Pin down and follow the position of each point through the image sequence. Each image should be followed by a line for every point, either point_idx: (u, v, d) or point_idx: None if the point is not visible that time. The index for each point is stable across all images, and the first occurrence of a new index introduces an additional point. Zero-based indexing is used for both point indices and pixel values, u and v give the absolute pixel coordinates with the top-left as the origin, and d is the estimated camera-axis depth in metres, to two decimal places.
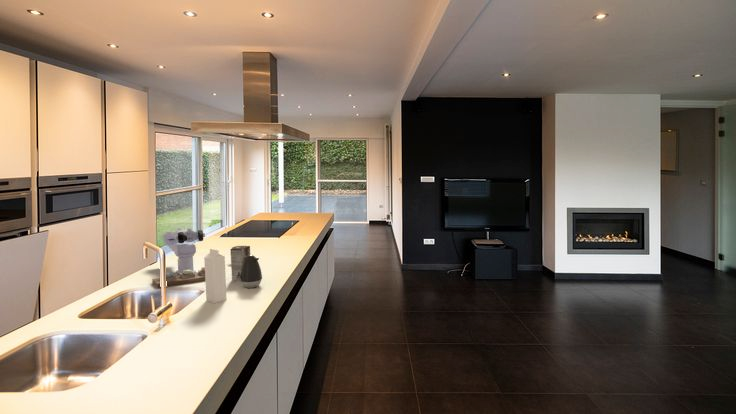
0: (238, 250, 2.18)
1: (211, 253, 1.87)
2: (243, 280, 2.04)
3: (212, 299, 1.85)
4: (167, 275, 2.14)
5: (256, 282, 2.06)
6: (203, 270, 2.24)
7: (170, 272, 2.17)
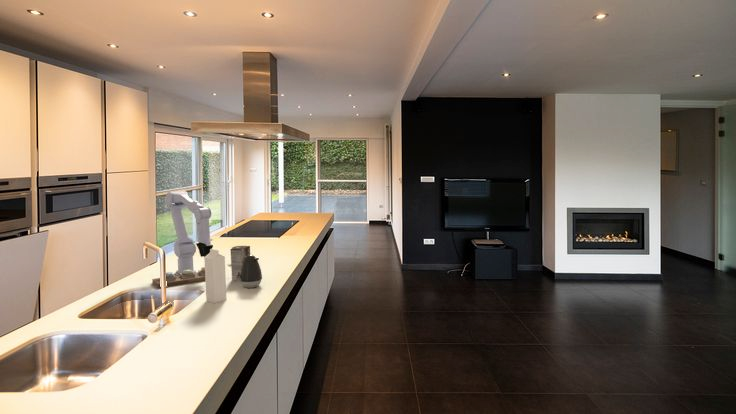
0: (238, 250, 2.18)
1: (211, 253, 1.87)
2: (243, 280, 2.04)
3: (212, 299, 1.85)
4: (167, 275, 2.14)
5: (256, 282, 2.06)
6: (203, 270, 2.24)
7: (170, 272, 2.17)
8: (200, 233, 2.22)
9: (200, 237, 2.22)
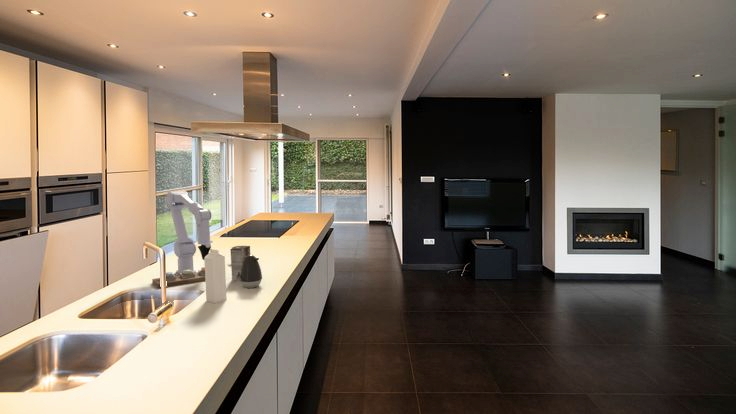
0: (238, 250, 2.18)
1: (211, 253, 1.87)
2: (243, 280, 2.04)
3: (212, 299, 1.85)
4: (167, 275, 2.14)
5: (256, 282, 2.06)
6: (203, 270, 2.24)
7: (170, 272, 2.17)
8: (200, 235, 2.22)
9: (200, 239, 2.22)
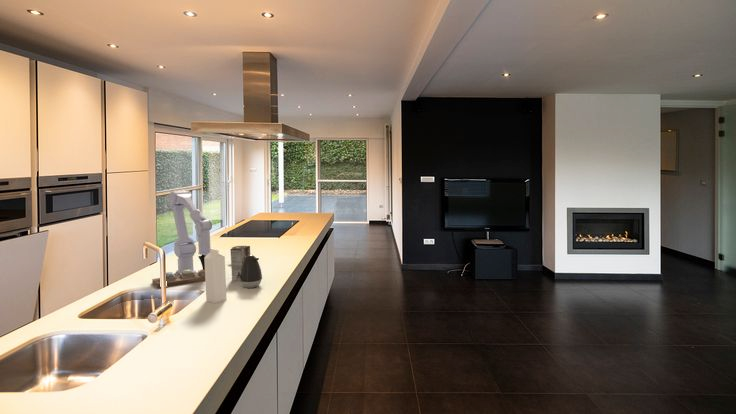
0: (238, 250, 2.18)
1: (211, 253, 1.87)
2: (243, 280, 2.04)
3: (212, 299, 1.85)
4: (167, 275, 2.14)
5: (256, 282, 2.06)
6: None
7: (170, 272, 2.17)
8: (201, 245, 2.22)
9: (201, 249, 2.22)
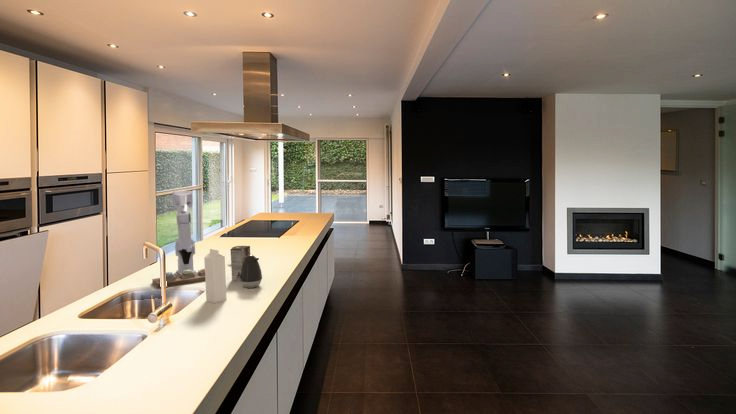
0: (238, 250, 2.18)
1: (211, 253, 1.87)
2: (243, 280, 2.04)
3: (212, 299, 1.85)
4: (167, 275, 2.14)
5: (256, 282, 2.06)
6: None
7: (170, 272, 2.17)
8: (181, 239, 2.16)
9: (181, 243, 2.17)
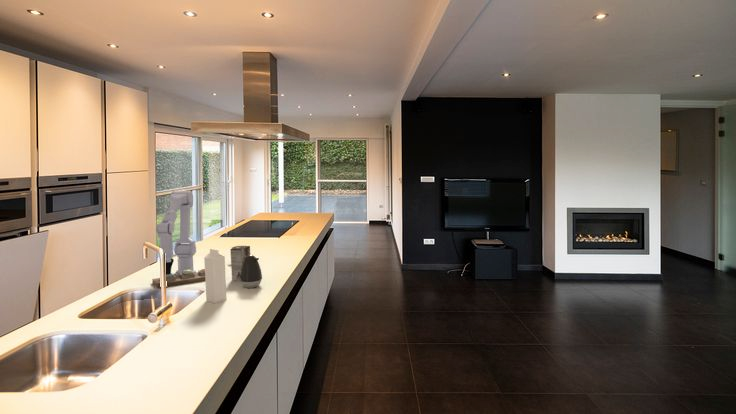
0: (238, 250, 2.18)
1: (211, 253, 1.87)
2: (243, 280, 2.04)
3: (212, 299, 1.85)
4: (167, 276, 2.14)
5: (256, 282, 2.06)
6: None
7: (170, 273, 2.17)
8: None
9: None
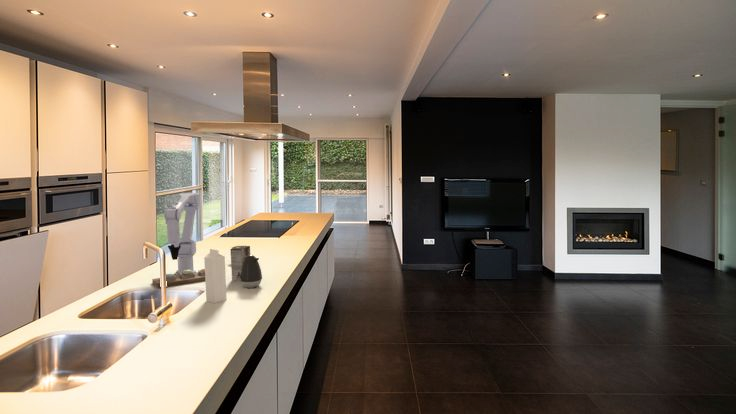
0: (238, 250, 2.18)
1: (211, 253, 1.87)
2: (243, 280, 2.04)
3: (212, 299, 1.85)
4: (167, 277, 2.14)
5: (256, 282, 2.06)
6: None
7: (170, 274, 2.17)
8: (169, 234, 2.19)
9: (169, 238, 2.19)
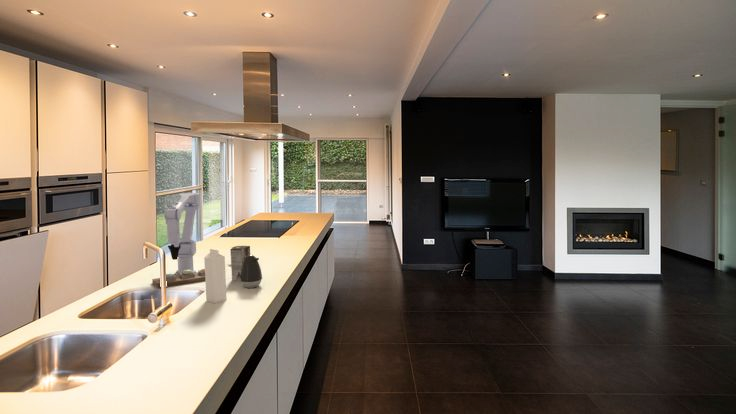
0: (238, 250, 2.18)
1: (211, 253, 1.87)
2: (243, 280, 2.04)
3: (212, 299, 1.85)
4: (167, 277, 2.14)
5: (256, 282, 2.06)
6: None
7: (170, 274, 2.17)
8: (169, 234, 2.19)
9: (169, 238, 2.19)
